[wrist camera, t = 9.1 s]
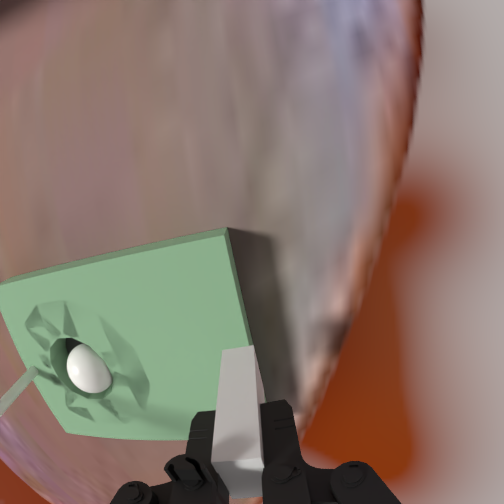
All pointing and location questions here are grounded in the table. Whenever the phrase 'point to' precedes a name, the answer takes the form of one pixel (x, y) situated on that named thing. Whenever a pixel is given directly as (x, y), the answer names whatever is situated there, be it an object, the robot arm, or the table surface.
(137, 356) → the green
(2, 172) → the table surface
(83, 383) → the ball
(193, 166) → the table surface
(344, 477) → the robot arm
